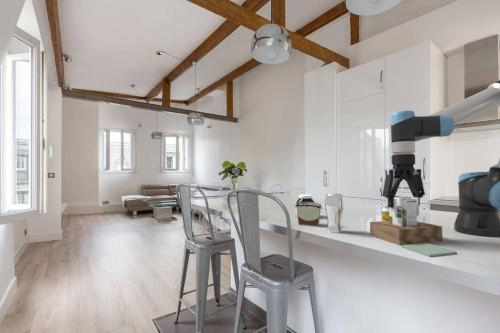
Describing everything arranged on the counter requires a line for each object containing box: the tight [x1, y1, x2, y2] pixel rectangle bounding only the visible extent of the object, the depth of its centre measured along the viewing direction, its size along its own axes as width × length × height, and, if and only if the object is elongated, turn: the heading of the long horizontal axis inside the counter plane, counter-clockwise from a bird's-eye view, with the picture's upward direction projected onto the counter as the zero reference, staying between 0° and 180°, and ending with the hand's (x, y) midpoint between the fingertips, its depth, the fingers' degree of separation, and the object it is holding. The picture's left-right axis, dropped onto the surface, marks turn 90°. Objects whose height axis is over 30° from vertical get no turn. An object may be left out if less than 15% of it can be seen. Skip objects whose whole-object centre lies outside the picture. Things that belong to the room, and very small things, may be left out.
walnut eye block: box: [369, 220, 443, 246], centre depth 97 cm, size 18×14×5 cm
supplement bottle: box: [381, 203, 393, 221], centre depth 118 cm, size 5×5×10 cm
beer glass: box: [324, 193, 344, 234], centre depth 109 cm, size 7×7×15 cm
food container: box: [294, 201, 323, 228], centre depth 123 cm, size 12×6×10 cm, turn 58°
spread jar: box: [295, 194, 315, 215], centre depth 145 cm, size 12×11×12 cm
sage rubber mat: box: [401, 242, 458, 258], centre depth 83 cm, size 10×10×1 cm
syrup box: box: [393, 196, 418, 227], centre depth 98 cm, size 6×6×14 cm
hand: (404, 215), depth 98 cm, fingers open, 9 cm apart
